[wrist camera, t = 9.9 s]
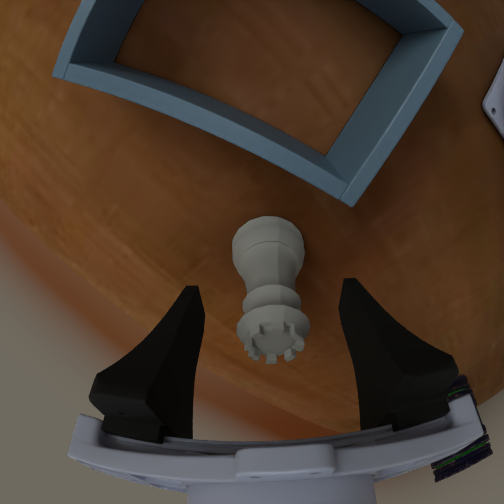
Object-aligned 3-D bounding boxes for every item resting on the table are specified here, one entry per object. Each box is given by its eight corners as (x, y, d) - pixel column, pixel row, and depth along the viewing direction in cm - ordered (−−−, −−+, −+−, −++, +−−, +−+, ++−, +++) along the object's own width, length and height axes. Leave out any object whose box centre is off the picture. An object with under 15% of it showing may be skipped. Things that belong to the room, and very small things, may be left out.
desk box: (417, 35, 10) (465, 30, 6) (329, 174, 15) (352, 208, 12) (184, -75, 6) (164, -110, 3) (98, 72, 12) (50, 77, 8)
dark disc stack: (403, 407, 35) (422, 488, 23) (448, 373, 30) (478, 461, 18) (435, 406, 37) (454, 474, 25) (475, 375, 32) (502, 447, 20)
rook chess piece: (241, 204, 16) (232, 302, 10) (313, 221, 17) (345, 320, 10) (226, 264, 19) (213, 367, 12) (290, 277, 20) (303, 378, 13)
